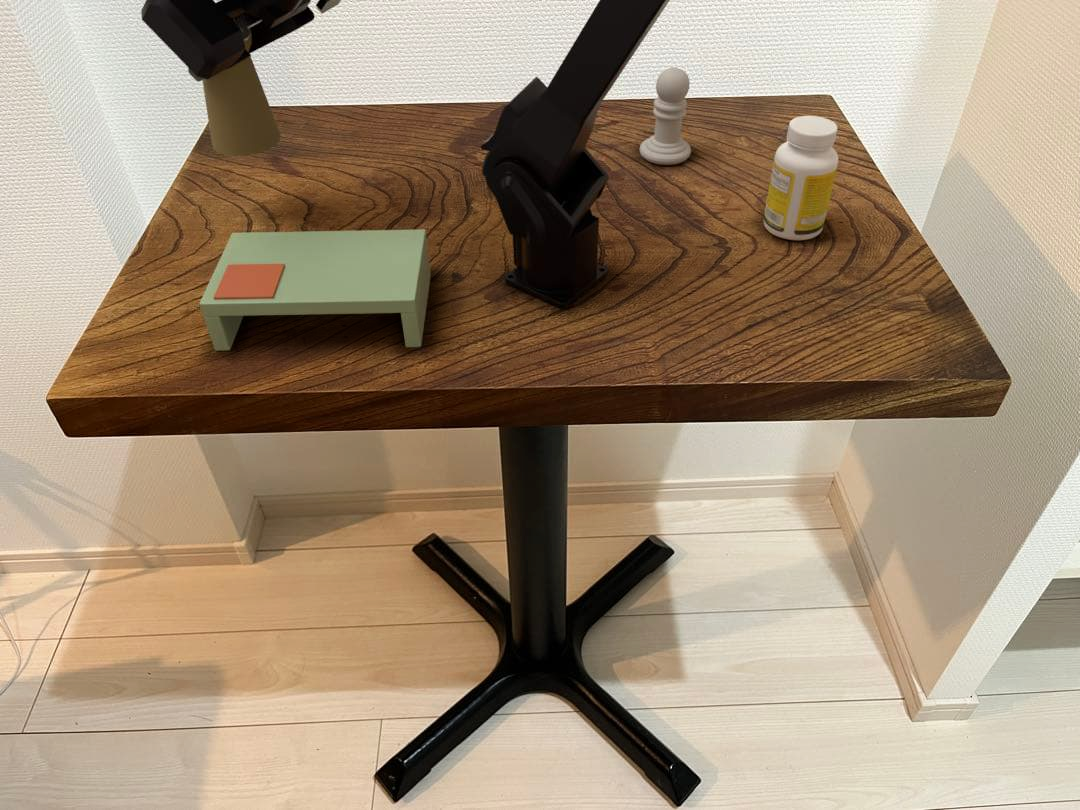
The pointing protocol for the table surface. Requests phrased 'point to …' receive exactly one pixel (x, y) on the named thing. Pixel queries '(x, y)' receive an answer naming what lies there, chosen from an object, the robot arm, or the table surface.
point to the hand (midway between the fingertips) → (214, 65)
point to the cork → (239, 110)
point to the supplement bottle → (802, 179)
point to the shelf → (319, 278)
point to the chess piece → (668, 120)
